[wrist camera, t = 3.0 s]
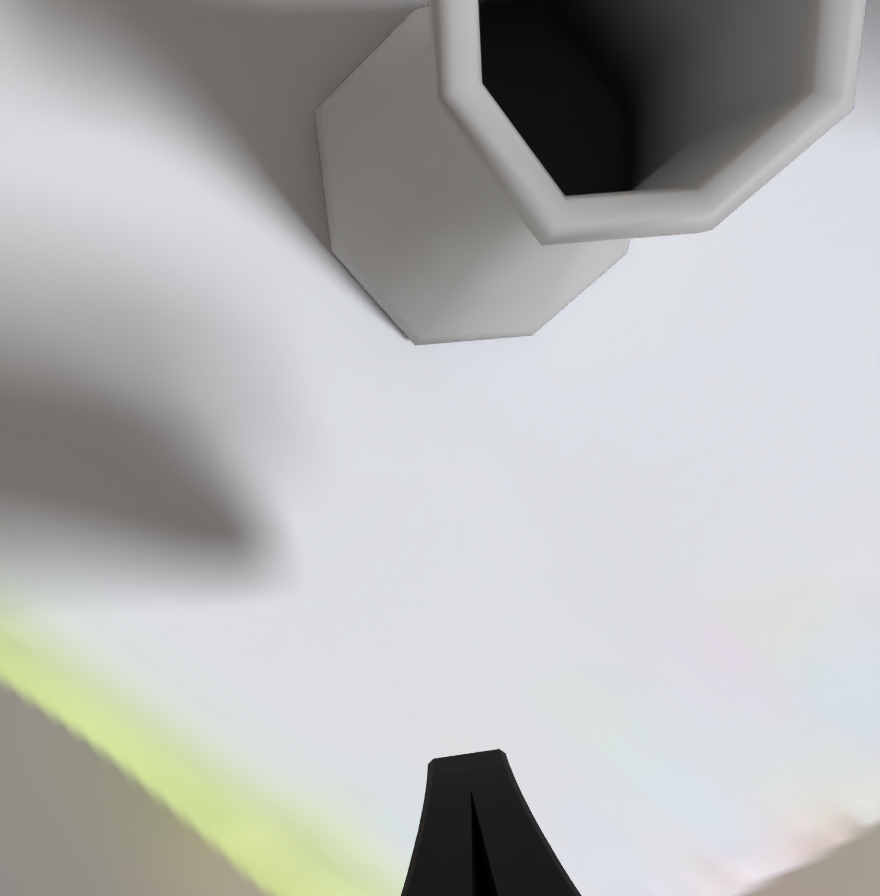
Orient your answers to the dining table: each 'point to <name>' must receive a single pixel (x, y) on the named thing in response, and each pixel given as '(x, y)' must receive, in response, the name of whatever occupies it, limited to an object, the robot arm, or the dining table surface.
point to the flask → (563, 143)
